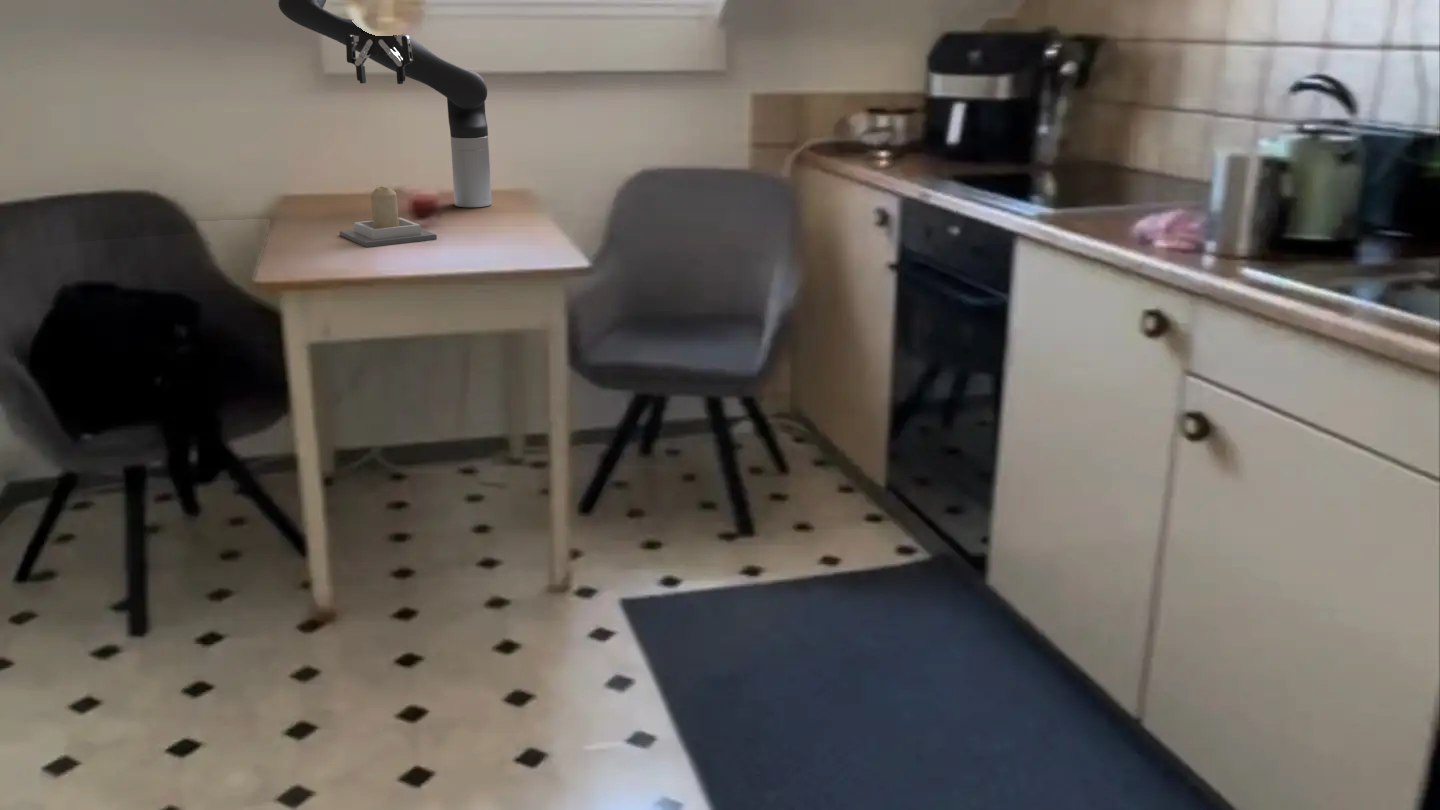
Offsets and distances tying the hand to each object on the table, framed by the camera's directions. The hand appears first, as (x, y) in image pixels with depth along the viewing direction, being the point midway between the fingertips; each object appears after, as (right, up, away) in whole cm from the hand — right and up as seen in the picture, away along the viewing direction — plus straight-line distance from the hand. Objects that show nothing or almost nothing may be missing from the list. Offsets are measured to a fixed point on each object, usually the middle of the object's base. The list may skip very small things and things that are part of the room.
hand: (381, 83), depth 277 cm
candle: (+2, -34, -2) cm, 34 cm away
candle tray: (+2, -35, -2) cm, 35 cm away
